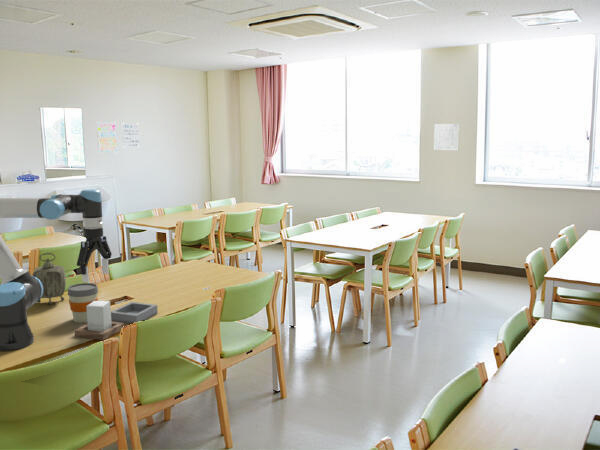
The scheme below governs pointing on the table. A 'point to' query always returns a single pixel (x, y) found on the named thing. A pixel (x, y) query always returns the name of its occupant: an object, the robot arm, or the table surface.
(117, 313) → the grey tray
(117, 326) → the walnut collar
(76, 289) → the reusable coffee cup
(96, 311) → the supplement box
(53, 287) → the tabletop clock
